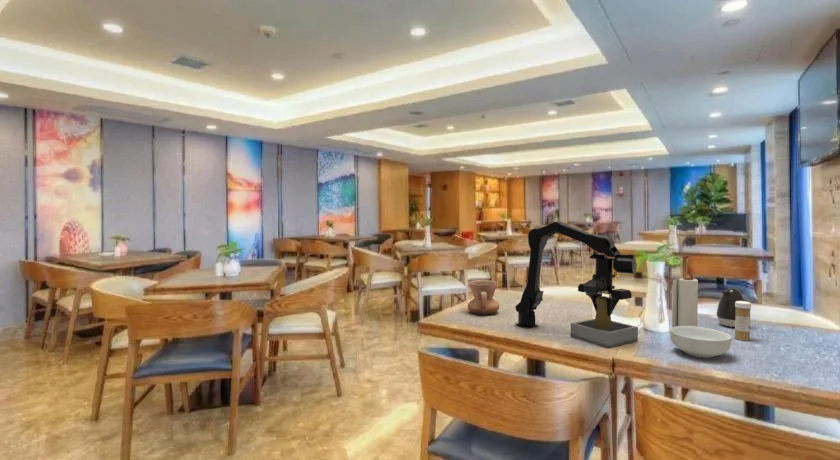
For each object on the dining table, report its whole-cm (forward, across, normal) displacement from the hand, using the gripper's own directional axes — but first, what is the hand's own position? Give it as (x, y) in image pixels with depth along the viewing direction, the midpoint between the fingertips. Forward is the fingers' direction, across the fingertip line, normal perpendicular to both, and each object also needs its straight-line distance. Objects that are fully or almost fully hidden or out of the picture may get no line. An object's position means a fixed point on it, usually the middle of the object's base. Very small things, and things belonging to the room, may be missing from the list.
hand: (603, 314), depth 161 cm
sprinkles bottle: (+9, +26, +41) cm, 50 cm away
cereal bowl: (+9, +27, +12) cm, 31 cm away
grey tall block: (+9, +14, +27) cm, 32 cm away
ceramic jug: (+10, -55, -12) cm, 57 cm away
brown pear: (+5, 0, 0) cm, 5 cm away
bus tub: (+9, 0, 0) cm, 9 cm away
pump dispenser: (+9, +15, +57) cm, 60 cm away
